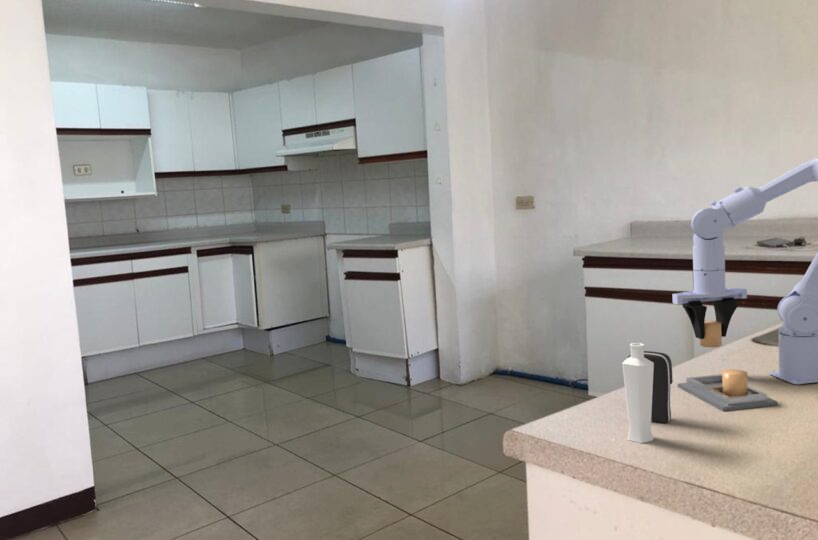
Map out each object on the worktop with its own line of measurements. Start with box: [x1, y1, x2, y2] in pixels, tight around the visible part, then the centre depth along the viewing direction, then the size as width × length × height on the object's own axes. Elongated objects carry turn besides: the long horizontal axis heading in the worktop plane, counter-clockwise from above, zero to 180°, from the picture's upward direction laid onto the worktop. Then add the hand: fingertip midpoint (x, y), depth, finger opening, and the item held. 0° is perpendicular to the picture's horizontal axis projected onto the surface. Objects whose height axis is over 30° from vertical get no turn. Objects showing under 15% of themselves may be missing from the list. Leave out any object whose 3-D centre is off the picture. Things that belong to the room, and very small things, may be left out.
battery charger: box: [627, 350, 673, 424], centre depth 112 cm, size 7×4×11 cm, turn 50°
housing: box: [677, 369, 779, 412], centre depth 121 cm, size 10×15×5 cm, turn 6°
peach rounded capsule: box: [699, 320, 723, 348], centre depth 133 cm, size 4×4×4 cm
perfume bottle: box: [621, 342, 655, 444], centre depth 103 cm, size 5×4×15 cm
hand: (710, 336), depth 133 cm, fingers closed on peach rounded capsule, 4 cm apart
